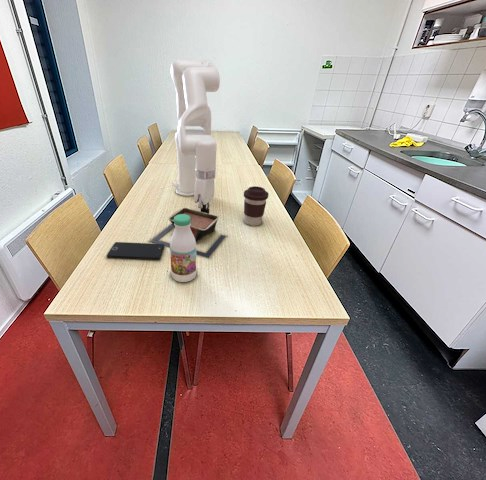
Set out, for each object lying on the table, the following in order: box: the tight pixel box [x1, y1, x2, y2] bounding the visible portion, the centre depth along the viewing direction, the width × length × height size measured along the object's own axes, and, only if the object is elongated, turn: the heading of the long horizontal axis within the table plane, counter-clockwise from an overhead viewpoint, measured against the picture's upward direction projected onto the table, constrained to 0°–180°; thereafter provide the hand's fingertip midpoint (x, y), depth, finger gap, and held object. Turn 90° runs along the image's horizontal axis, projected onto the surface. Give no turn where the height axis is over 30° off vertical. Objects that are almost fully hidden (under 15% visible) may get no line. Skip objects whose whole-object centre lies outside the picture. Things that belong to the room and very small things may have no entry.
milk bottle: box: [169, 214, 197, 283], centre depth 79 cm, size 8×8×20 cm
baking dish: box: [168, 207, 219, 243], centre depth 105 cm, size 14×18×10 cm
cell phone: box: [106, 241, 165, 261], centre depth 94 cm, size 9×18×1 cm, turn 87°
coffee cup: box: [243, 185, 270, 227], centre depth 113 cm, size 10×10×15 cm
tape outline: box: [149, 223, 226, 258], centre depth 103 cm, size 24×16×1 cm
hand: (204, 216), depth 112 cm, fingers closed
